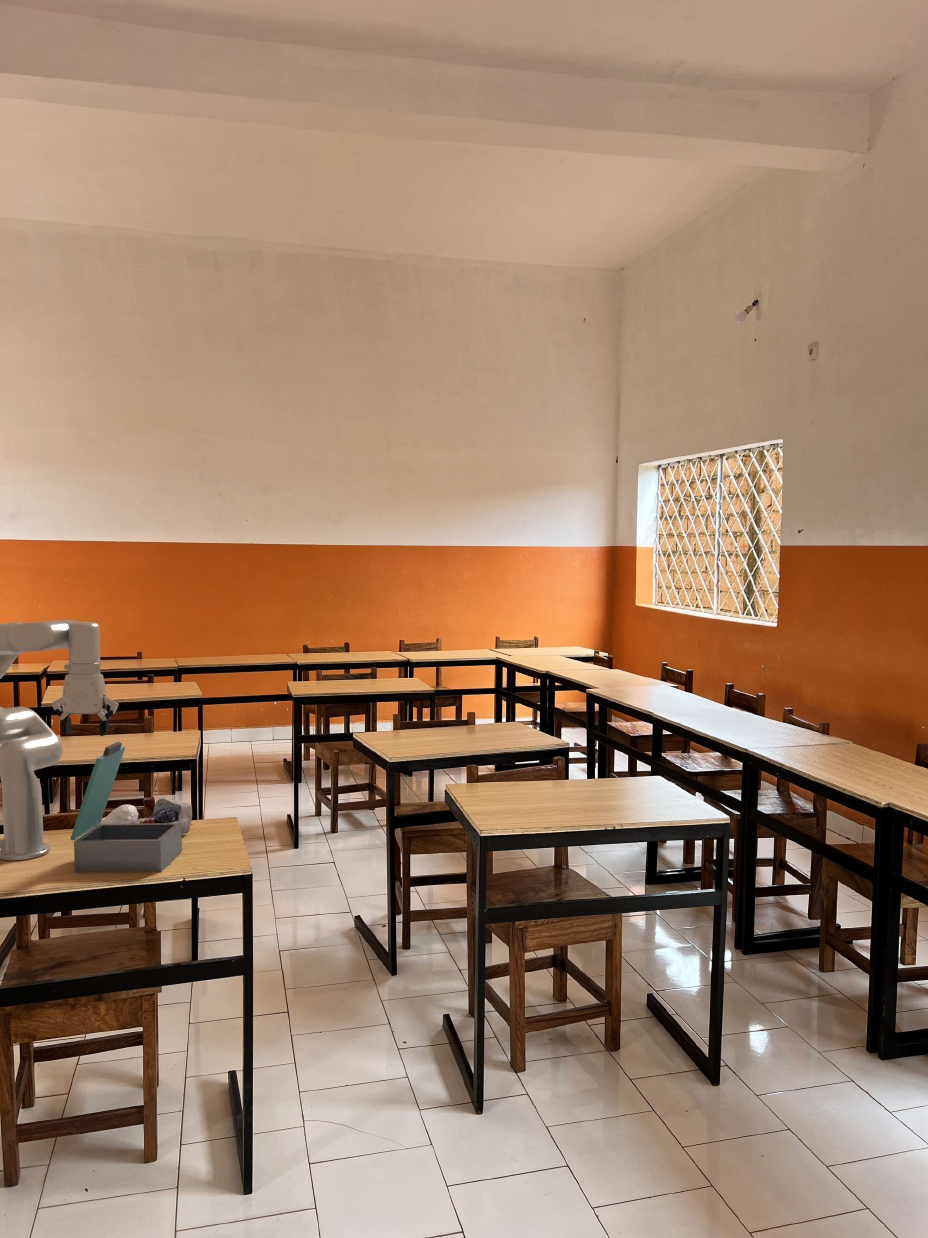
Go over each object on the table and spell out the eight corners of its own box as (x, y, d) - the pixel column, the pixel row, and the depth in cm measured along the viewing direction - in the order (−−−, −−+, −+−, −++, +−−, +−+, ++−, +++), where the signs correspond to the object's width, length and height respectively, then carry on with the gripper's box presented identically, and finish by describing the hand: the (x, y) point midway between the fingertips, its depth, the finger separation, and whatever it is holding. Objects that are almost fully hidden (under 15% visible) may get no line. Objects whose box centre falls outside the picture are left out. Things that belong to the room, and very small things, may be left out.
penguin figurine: (128, 807, 259) (89, 810, 260) (132, 836, 259) (93, 839, 260) (139, 801, 265) (100, 805, 266) (142, 830, 265) (104, 833, 267)
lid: (74, 841, 228) (69, 839, 228) (100, 823, 244) (96, 822, 244) (103, 752, 227) (98, 750, 227) (128, 740, 243) (123, 738, 243)
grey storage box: (74, 872, 229) (73, 841, 228) (101, 853, 245) (100, 824, 244) (161, 872, 228) (160, 840, 228) (182, 852, 244) (181, 823, 244)
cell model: (197, 797, 261) (147, 816, 243) (198, 833, 262) (148, 855, 244) (162, 793, 267) (110, 811, 248) (163, 828, 267) (112, 849, 249)
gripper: (44, 670, 231) (45, 736, 232) (111, 671, 231) (111, 738, 232) (59, 667, 239) (60, 731, 240) (123, 668, 238) (124, 732, 239)
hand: (85, 734), depth 236 cm, fingers open, 9 cm apart
